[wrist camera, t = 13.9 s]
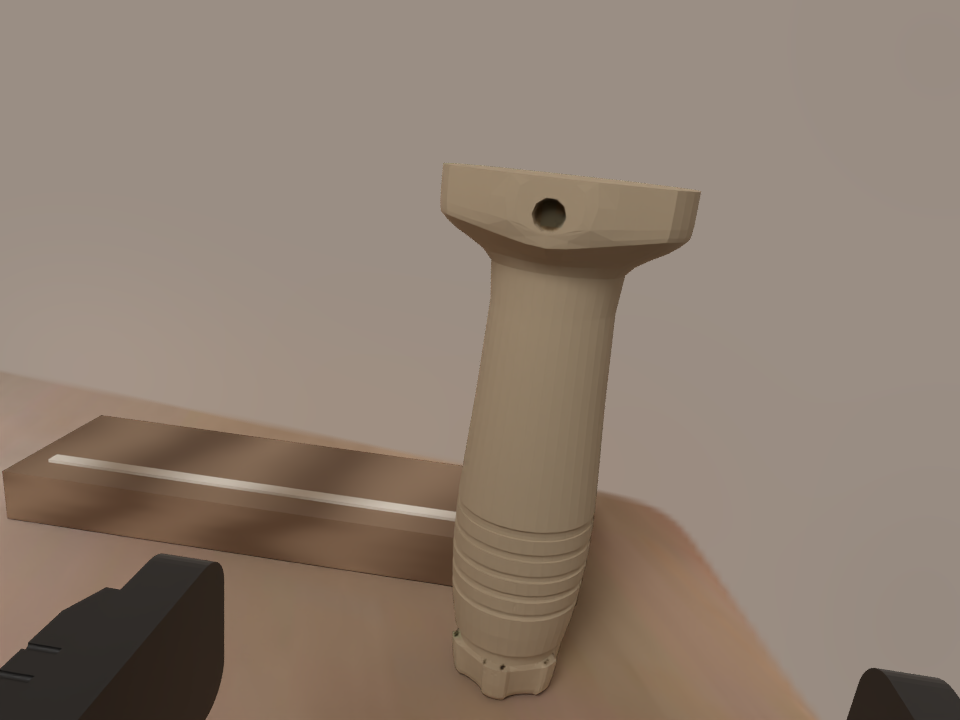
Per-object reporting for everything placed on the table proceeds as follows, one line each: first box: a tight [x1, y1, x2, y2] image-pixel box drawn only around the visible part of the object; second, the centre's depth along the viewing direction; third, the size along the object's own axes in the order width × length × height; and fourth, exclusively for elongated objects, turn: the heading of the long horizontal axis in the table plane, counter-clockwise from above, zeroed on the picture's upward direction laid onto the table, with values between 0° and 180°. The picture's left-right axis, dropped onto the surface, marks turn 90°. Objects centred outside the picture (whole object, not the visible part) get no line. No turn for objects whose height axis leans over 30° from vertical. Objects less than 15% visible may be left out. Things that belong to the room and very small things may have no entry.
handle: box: [441, 163, 701, 700], centre depth 20 cm, size 5×6×15 cm
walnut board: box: [2, 415, 578, 605], centre depth 29 cm, size 22×6×2 cm, turn 84°
